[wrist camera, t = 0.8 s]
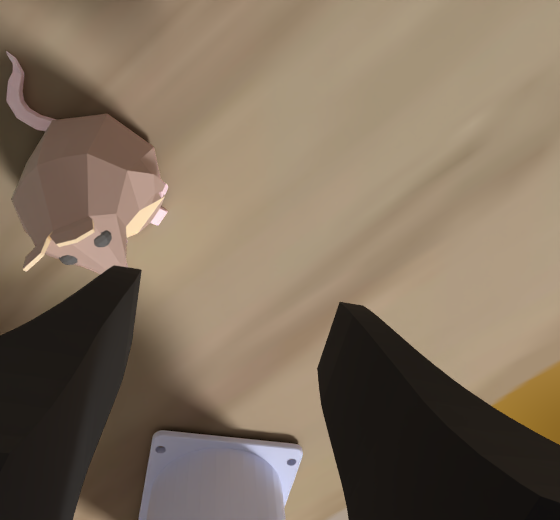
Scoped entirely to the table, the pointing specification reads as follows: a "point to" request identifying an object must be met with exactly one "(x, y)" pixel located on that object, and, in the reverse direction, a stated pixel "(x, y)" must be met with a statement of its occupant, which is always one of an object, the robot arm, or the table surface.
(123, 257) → the mouse figurine
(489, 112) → the table surface
